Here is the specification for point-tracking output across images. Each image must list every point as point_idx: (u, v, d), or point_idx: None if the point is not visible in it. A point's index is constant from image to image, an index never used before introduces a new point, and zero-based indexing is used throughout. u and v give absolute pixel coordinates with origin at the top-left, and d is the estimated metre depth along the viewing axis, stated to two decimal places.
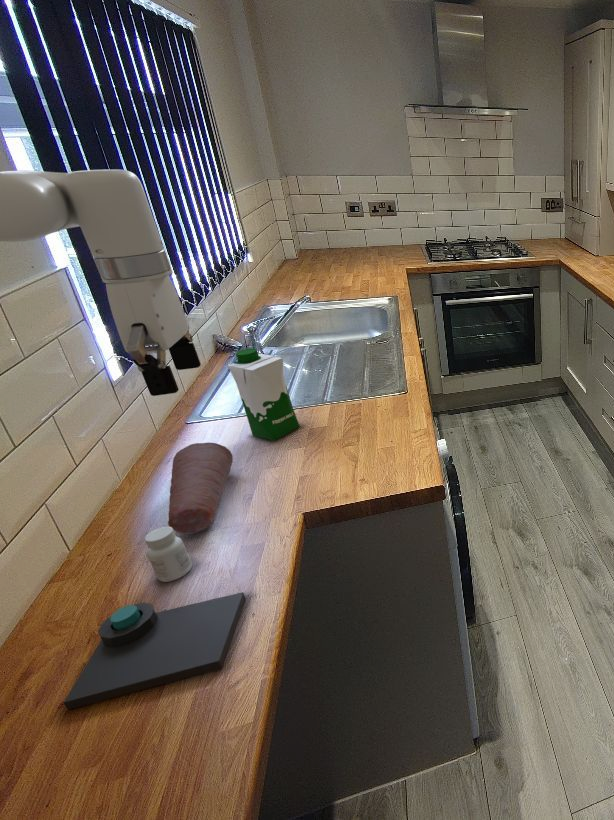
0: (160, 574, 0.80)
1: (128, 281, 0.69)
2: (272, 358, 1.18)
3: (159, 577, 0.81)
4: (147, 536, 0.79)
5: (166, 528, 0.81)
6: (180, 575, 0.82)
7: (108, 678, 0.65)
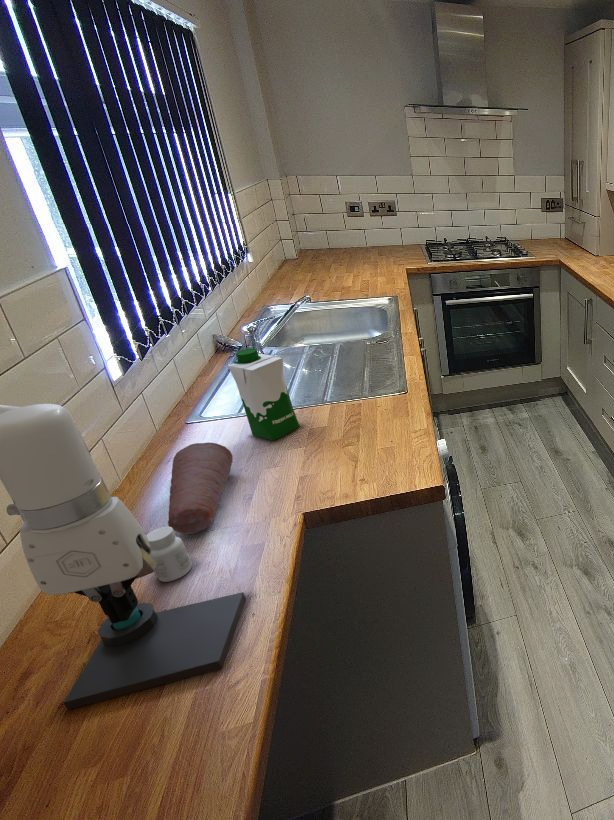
0: (160, 574, 0.80)
1: (109, 503, 0.65)
2: (272, 358, 1.18)
3: (159, 577, 0.81)
4: (147, 536, 0.79)
5: (166, 528, 0.81)
6: (180, 575, 0.82)
7: (108, 678, 0.65)
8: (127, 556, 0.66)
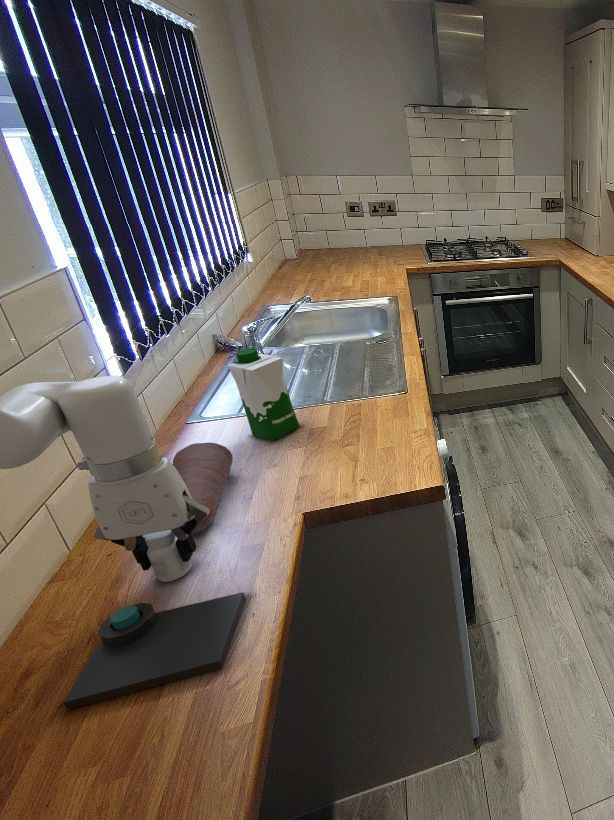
0: (160, 574, 0.80)
1: (161, 462, 0.77)
2: (272, 358, 1.18)
3: (159, 577, 0.81)
4: (147, 536, 0.79)
5: None
6: (180, 575, 0.82)
7: (108, 678, 0.65)
8: (176, 507, 0.77)
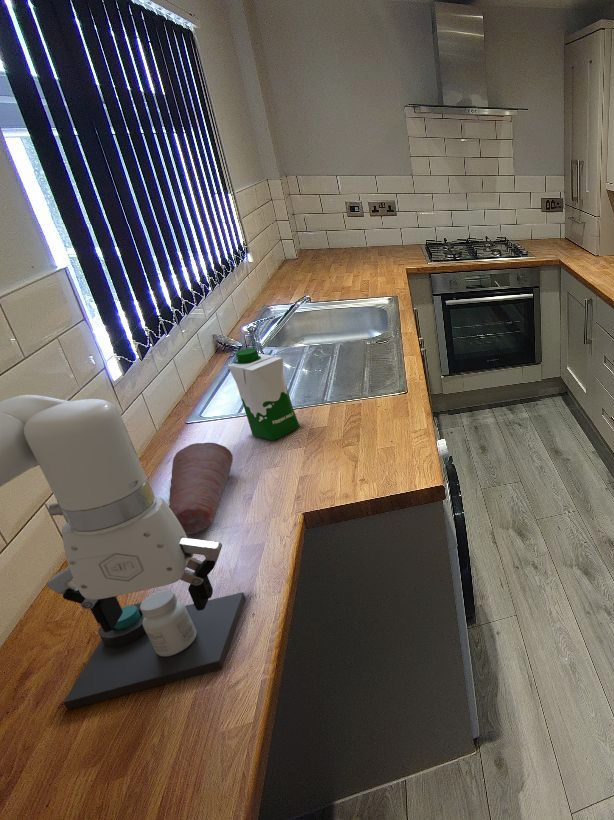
0: (158, 648, 0.67)
1: (154, 504, 0.62)
2: (272, 358, 1.18)
3: (157, 651, 0.67)
4: (143, 603, 0.66)
5: (166, 592, 0.67)
6: (182, 648, 0.68)
7: (108, 678, 0.65)
8: (171, 560, 0.63)
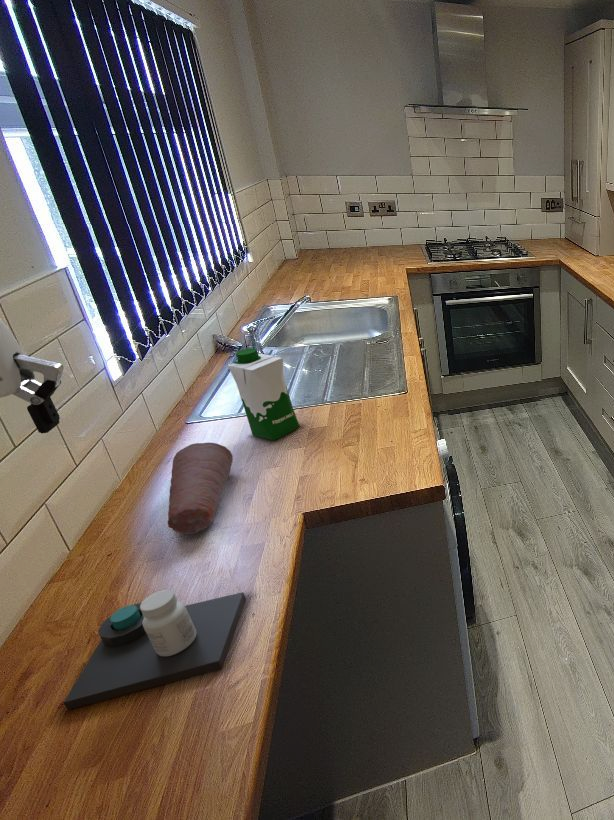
0: (158, 648, 0.67)
1: None
2: (272, 358, 1.18)
3: (157, 651, 0.67)
4: (143, 603, 0.66)
5: (166, 592, 0.67)
6: (182, 648, 0.68)
7: (108, 678, 0.65)
8: (0, 369, 0.62)
